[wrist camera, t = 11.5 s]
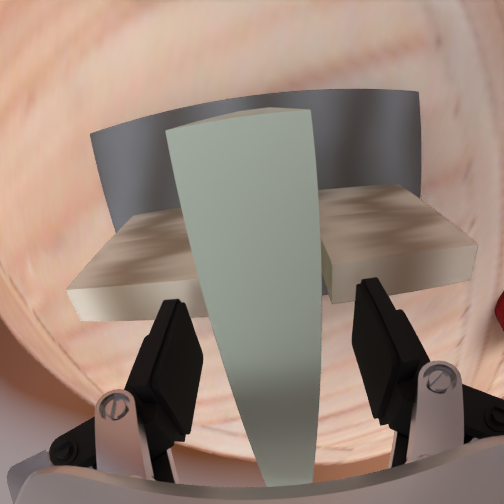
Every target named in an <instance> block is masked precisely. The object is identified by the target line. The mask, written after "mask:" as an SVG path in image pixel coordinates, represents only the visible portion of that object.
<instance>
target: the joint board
mask: <svg viewBox="0 0 504 504" xmlns="http://www.w3.org/2000/svg"><path fill="white" fill-rule="evenodd" d="M268 107H273V108H294V109H309V110H311V117H312V126H313V136H314V147H315V158H316V170H317V184H318V199H319V217H320V239H321V275H322V295H328V294H329V296H330V300H331V303H332V304H336V303H343V302H350V301H355V295H356V285H357V284H360V283H361V280H362V279H367V278H374V277H377V278H378V279H379V281H380V282H381V284H382V286H383V288H384V289H385V291H386V293H387V295H388V296H389V295H395V294H401V293H407V292H412V291H418V290H423V289H428V288H434V287H439V286H444V285H449V284H454V283H459V282H463V281H468V280H470V279H471V275H472V271H473V267H474V262H475V258H476V253H477V249H478V244H477V243H476V242H475V241H474V240H473V239H472V238H470V237H469V236H468V235H467V234H465V233H464V232H463V231H462V230H461V229H459V228H458V227H457V226H456V225H454V224H453V223H452V222H450V221H449V220H448V219H447V218H445V217H444V216H443V215H441V214H440V213H439V212H437V211H436V210H435V209H433V208H432V207H431V206H429V205H428V204H427V203H425V202H424V201H422V200H421V199H420V188H421V122H420V105H419V92H416V91H403V90H383V89H326V90H306V91H292V92H281V93H271V94H262V95H254V96H246V97H239V98H233V99H226V100H220V101H214V102H209V103H204V104H198V105H193V106H189V107H184V108H179V109H175V110H171V111H166V112H162V113H158V114H154V115H150V116H147V117H143V118H139V119H136V120H132V121H129V122H125V123H122V124H119V125H116V126H112V127H109V128H106V129H103V130H100V131H97V132H94V133H91V134H90V137H91V142H92V146H93V151H94V155H95V160H96V164H97V168H98V172H99V176H100V180H101V183H102V187H103V191H104V195H105V198H106V202H107V205H108V209H109V212H110V215H111V219H112V222H113V225H114V228H115V231H116V234H115V235H114V236H113V237H112V238H111V239H110V240H109V241H108V242H107V243H106V244H105V245H104V246H103V248H102V249H101V250H100V251H99V252H98V253H97V254H96V255H95V256H94V257H93V259H92V260H91V261H90V262H89V263H88V264H87V265H86V266H85V268H84V269H83V270H82V271H81V272H80V273H79V275H78V276H77V277H76V278H75V279H74V280H73V282H72V283H71V284H70V285H69V286H68V288H67V289H66V292H67V294H68V296H69V298H70V300H71V303H72V305H73V307H74V308H75V310H76V312H77V314H78V316H79V318H80V320H81V321H134V320H155V319H156V316H157V314H158V312H159V309H160V307H161V304H162V302H163V300H168V299H180V301H181V302H184V303H185V304H186V306H187V309H188V312H189V315H190V318H196V317H209V314H208V311H207V307H206V303H205V300H204V296H203V292H202V289H201V285H200V281H199V278H198V274H197V270H196V266H195V262H194V258H193V254H192V250H191V246H190V242H189V238H188V234H187V230H186V226H185V222H184V217H183V213H182V209H181V204H180V200H179V195H178V191H177V186H176V182H175V177H174V172H173V167H172V163H171V158H170V153H169V148H168V142H167V137H166V132H165V131H166V130H169V129H172V128H176V127H179V126H183V125H186V124H190V123H193V122H197V121H201V120H204V119H208V118H212V117H216V116H220V115H224V114H229V113H233V112H237V111H244V110H251V109H259V108H268Z"/></svg>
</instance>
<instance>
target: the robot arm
mask: <svg viewBox="0 0 504 504" xmlns="http://www.w3.org/2000/svg"><path fill="white" fill-rule="evenodd" d="M352 346H353V350H354V353H355V356H356V359H357V363H358V366H359V369H360V372H361V376H362V379H363V383H364V386H365V390H366V393H367V397H368V400H369V404H370V407H371V411H372V415H373V417H374V419H376V418H378V419H379V422H380V426H381V425H385V424H389V427H390V429H392V430H394V431H395V432H394V438H393V444H392V450H391V456H390V462H389V466H388V469H386V470H381V471H377V472H373V473H369V474H364V475H359V476H354V477H349V478H344V479H338V480H331V481H325V482H318V483H309V484H300V485H289V486H273V487H211V486H194V485H184V484H180V483H179V479H178V476H177V472H176V468H175V464H174V461H173V457H172V453H171V447H172V446H174V441H179V442H185V436H186V434H190V432H191V427H192V421H193V415H194V409H195V404H196V398H197V393H198V387H199V382H200V376H201V371H202V365H203V353H202V350H201V347H200V344H199V341H198V339H197V336H196V333H195V330H194V327H193V324H192V321H191V318H190V315H189V312H188V309H187V306H186V304H185V303H184V302H181V301H180V299H168V300H163V302H162V304H161V307H160V309H159V312H158V314H157V316H156V319H155V321H154V324H153V326H152V328H151V331H150V333H149V335H147V336H146V337H145V338H144V340H143V343H142V345H141V348H140V350H139V353H138V355H137V358H136V360H135V363H134V365H133V368H132V370H131V373H130V375H129V378H128V381H127V383H126V386H125V389H124V390H121V389H117V390H112V391H109V392H107V393H105V394H104V395H103V396H102V397H101V398H100V399H99V400H98V402H97V404H96V407H95V417H93V418H91V419H90V420H88V421H86V422H84V423H82V424H81V425H79V426H77V427H76V428H74V429H72V430H70V431H68V432H67V433H65V434H63V435H61V436H60V437H58V438H57V439H55V441H54V442H53V443H52V445H51V447H50V450H49V452H48V451H47V450H44V451H42V452H40V453H38V454H36V455H34V456H32V457H30V458H28V459H26V460H24V461H22V462H20V463H18V464H16V465H14V466H12V467H11V468H10V470H9V471H8V474H7V482H8V487H9V490H10V494H11V497H12V501H13V504H504V400H503V399H500V398H498V397H495V396H492V395H490V394H487V393H485V392H482V391H479V390H477V389H474V388H472V387H469V386H466V385H464V384H462V379H461V375H460V373H459V371H458V370H457V368H456V367H454V366H453V365H452V364H450V363H448V362H445V361H432V362H431V361H430V359H429V358H428V356H427V354H426V352H425V350H424V348H423V346H422V344H421V342H420V340H419V338H418V336H417V335H416V333H415V331H414V329H413V327H412V325H411V324H410V322H409V320H408V318H407V316H406V315H405V313H404V312H403V310H401V309H400V310H396V309H395V307H394V305H393V304H392V302H391V300H390V298H389V296H388V295H387V293H386V291H385V289H384V288H383V286H382V284H381V282H380V281H379V279H378V278H377V277H374V278H367V279H362V280H361V283H360V284H357V285H356V295H355V309H354V320H353V331H352Z"/></svg>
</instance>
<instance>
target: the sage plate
mask: <svg viewBox="0 0 504 504" xmlns="http://www.w3.org/2000/svg"><path fill="white" fill-rule="evenodd" d="M165 132H166V137H167V142H168V148H169V153H170V158H171V163H172V167H173V172H174V177H175V182H176V186H177V191H178V195H179V200H180V204H181V209H182V213H183V217H184V222H185V226H186V230H187V234H188V238H189V242H190V246H191V250H192V254H193V258H194V262H195V266H196V270H197V274H198V278H199V281H200V285H201V289H202V292H203V296H204V300H205V303H206V307H207V311H208V314H209V318H210V321H211V324H212V328H213V331H214V335H215V338H216V341H217V345H218V348H219V351H220V355H221V358H222V361H223V364H224V368H225V371H226V374H227V377H228V380H229V383H230V386H231V389H232V392H233V395H234V398H235V401H236V404H237V407H238V410H239V413H240V416H241V419H242V422H243V425H244V428H245V430H246V433H247V436H248V439H249V442H250V444H251V447H252V450H253V453H254V455H255V458H256V461H257V463H258V466H259V469H260V471H261V474H262V476H263V479H264V481H265V484H266V487H273V486H289V485H300V484H309V483H312V480H313V471H314V462H315V451H316V440H317V427H318V413H319V396H320V374H321V340H322V275H321V239H320V217H319V199H318V184H317V170H316V158H315V147H314V136H313V126H312V117H311V110H309V109H294V108H273V107H268V108H259V109H251V110H244V111H237V112H233V113H229V114H224V115H220V116H216V117H212V118H208V119H204V120H201V121H197V122H193V123H190V124H186V125H183V126H179V127H176V128H172V129H169V130H166V131H165Z"/></svg>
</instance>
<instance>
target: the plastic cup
mask: <svg viewBox="0 0 504 504" xmlns="http://www.w3.org/2000/svg"><path fill="white" fill-rule="evenodd" d="M495 313H496V316H497V319H498V321H499V323H500V325H501V327H502V329H503V331H504V292H503V294H502V295H501V297H500V298H499V300H498V302H497V305H496V310H495Z"/></svg>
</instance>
